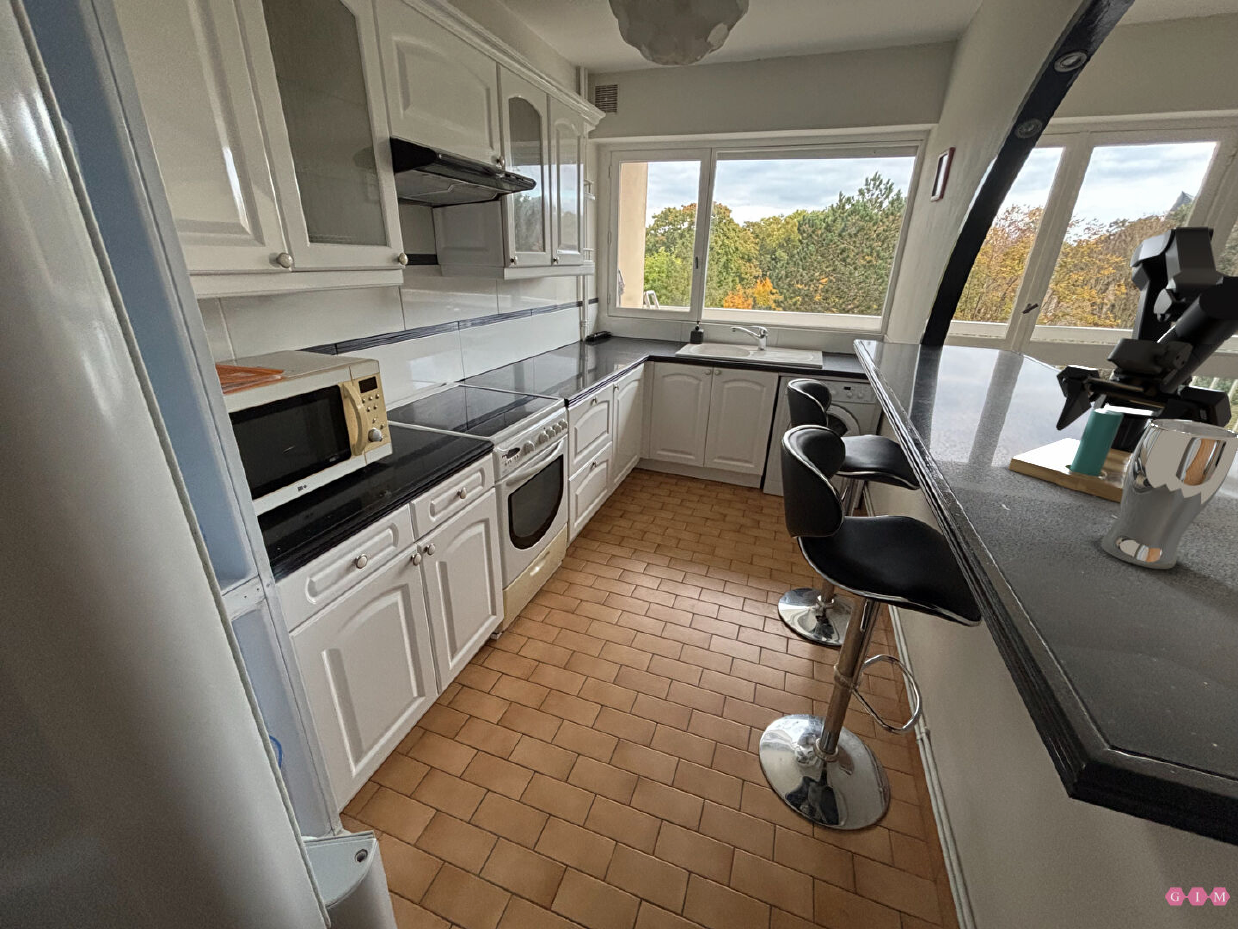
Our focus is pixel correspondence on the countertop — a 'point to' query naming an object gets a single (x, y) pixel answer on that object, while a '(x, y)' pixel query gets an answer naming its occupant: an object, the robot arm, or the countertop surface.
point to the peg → (1096, 441)
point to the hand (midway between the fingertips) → (1091, 438)
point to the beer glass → (1168, 489)
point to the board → (1056, 465)
